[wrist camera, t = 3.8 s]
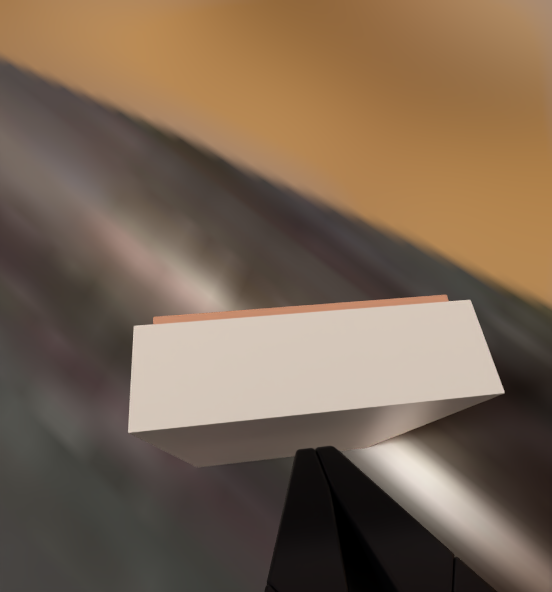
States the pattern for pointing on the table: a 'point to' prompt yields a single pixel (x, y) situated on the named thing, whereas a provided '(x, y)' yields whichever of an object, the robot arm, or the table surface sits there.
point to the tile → (304, 376)
